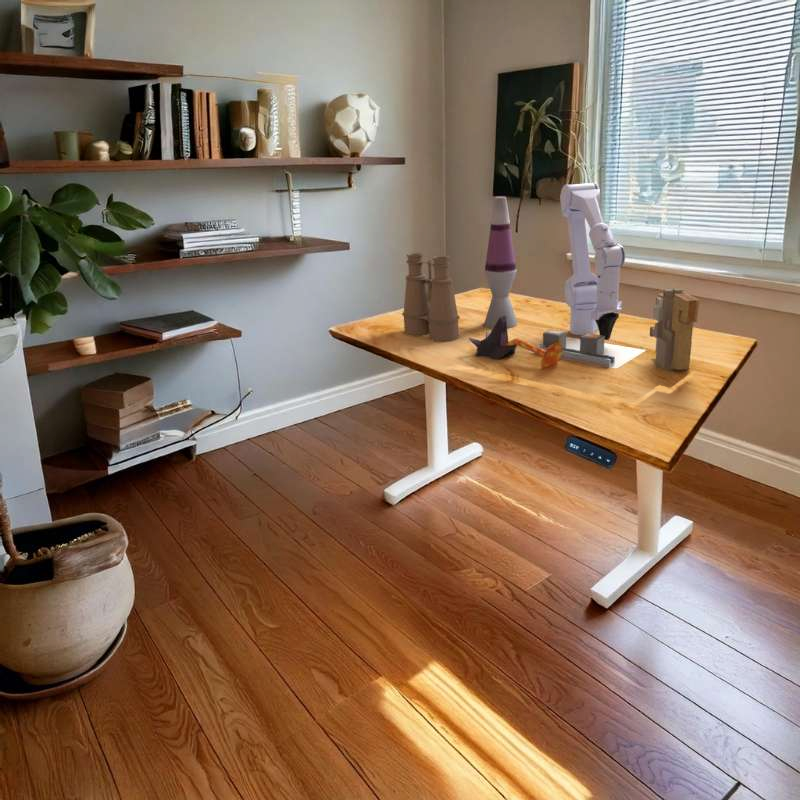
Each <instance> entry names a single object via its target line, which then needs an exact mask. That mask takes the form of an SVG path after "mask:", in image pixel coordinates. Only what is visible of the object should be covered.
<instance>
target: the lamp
mask: <svg viewBox="0 0 800 800" xmlns="http://www.w3.org/2000/svg"><path fill="white" fill-rule="evenodd" d="M493 200H494V201H493V204H492V205H493V207H492V213H491V219H490V230H489V237H488V244H487V250H486V258H485V266H484V270H483V273H484V275H485V278H486V281H487V284H488V287H489V290H490V292H491V293H490V294H491V296H492V297H491V300H490V304H489V306H488V310H487V313H486V317H485V319H484V322H483V325H484V327H487V328H490V329H493V328H494V326H495V324H496V323H497V321H498V320H499V317H502V316H505V315H506V320H507V329H510V328H509V327H511V328H513V326H514V327H516V326H517V325H518V321H517V318H516V314H515V312H514V308H513V305H512V303H511V300H510V296H509V295H510V293H511V289H512V286H513V282H514V280H515V278H516V275H517V271H518V270H517V265H516V258H515V252H514V251H515V250H514V246H513V237H512V230H511V220H510V215H509V214H510V213H509V207H508V201H507V197H506V196H495V197H494V199H493ZM515 325H516V326H515Z"/></svg>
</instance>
